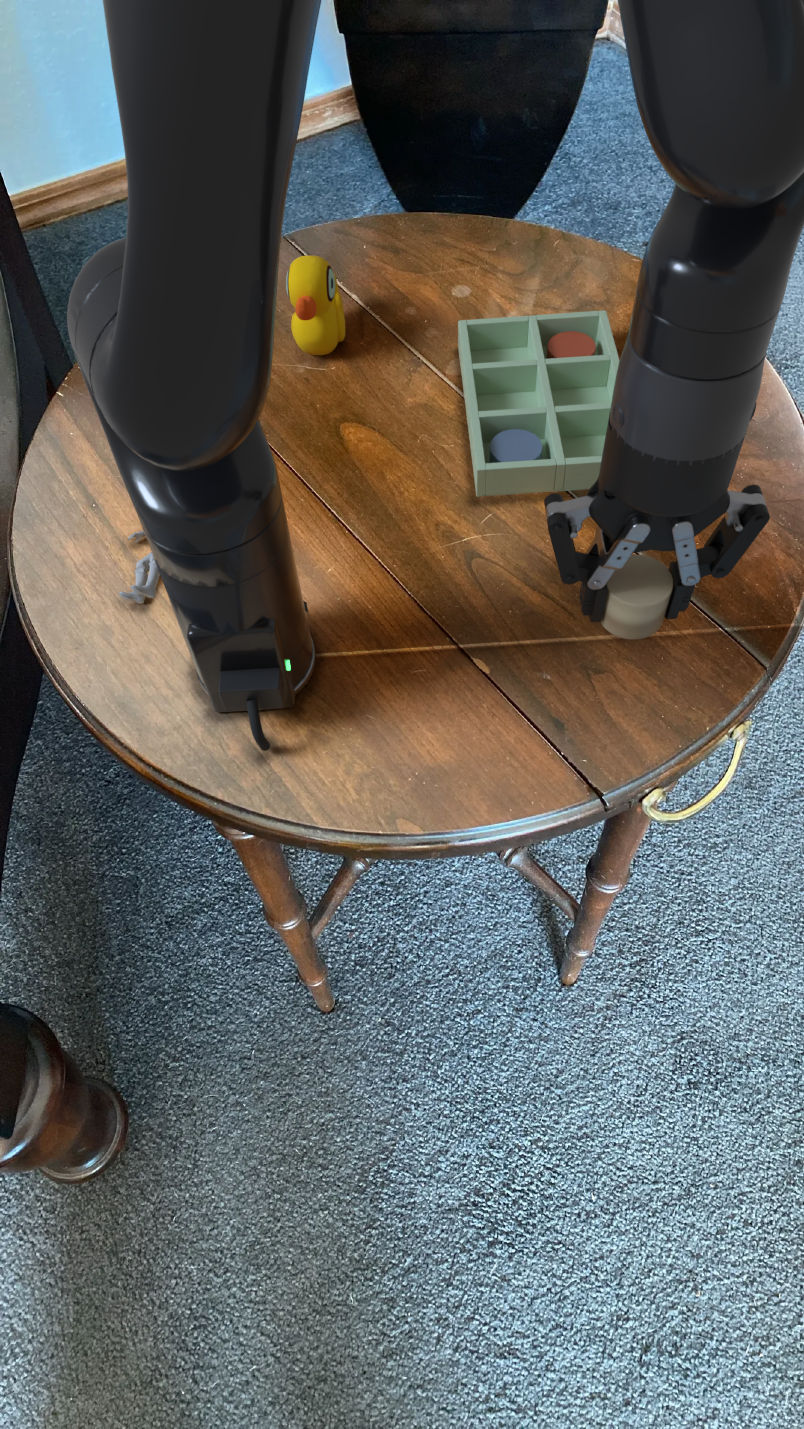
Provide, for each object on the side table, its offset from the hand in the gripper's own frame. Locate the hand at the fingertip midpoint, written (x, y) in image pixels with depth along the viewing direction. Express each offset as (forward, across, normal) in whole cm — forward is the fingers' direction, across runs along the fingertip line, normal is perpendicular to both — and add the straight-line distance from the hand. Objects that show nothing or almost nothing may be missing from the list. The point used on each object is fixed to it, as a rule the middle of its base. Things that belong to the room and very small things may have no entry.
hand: (630, 610), depth 68 cm
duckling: (+8, +24, -43) cm, 50 cm away
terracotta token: (+7, -1, -38) cm, 38 cm away
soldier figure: (+9, +36, -15) cm, 40 cm away
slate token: (+7, +6, -24) cm, 26 cm away
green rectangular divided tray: (+8, +2, -31) cm, 32 cm away
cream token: (0, 0, 0) cm, 0 cm away
